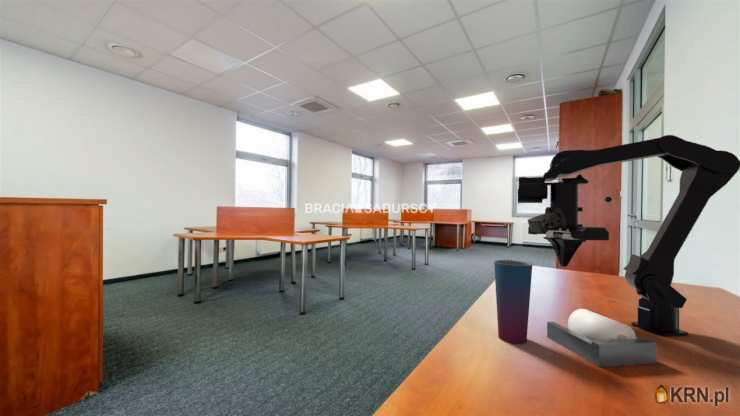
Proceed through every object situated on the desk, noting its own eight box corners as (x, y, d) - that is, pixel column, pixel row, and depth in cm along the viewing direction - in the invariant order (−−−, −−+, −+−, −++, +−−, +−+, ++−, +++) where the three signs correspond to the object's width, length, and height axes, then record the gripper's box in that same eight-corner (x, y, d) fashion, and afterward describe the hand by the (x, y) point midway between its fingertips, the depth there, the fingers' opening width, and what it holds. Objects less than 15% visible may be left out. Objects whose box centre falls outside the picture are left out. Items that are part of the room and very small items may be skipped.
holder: (594, 334, 59) (594, 317, 59) (656, 363, 48) (656, 341, 48) (547, 336, 58) (547, 318, 58) (599, 366, 47) (599, 344, 47)
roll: (563, 333, 57) (573, 304, 57) (588, 343, 58) (598, 314, 58) (601, 352, 49) (612, 319, 49) (630, 364, 50) (641, 331, 50)
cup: (537, 348, 53) (537, 266, 53) (497, 344, 54) (498, 264, 55) (525, 333, 60) (525, 260, 60) (490, 330, 61) (490, 259, 61)
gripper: (510, 203, 79) (510, 260, 79) (564, 200, 61) (564, 275, 60) (547, 204, 81) (547, 260, 80) (611, 202, 62) (611, 274, 62)
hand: (563, 266), depth 71 cm, fingers closed
